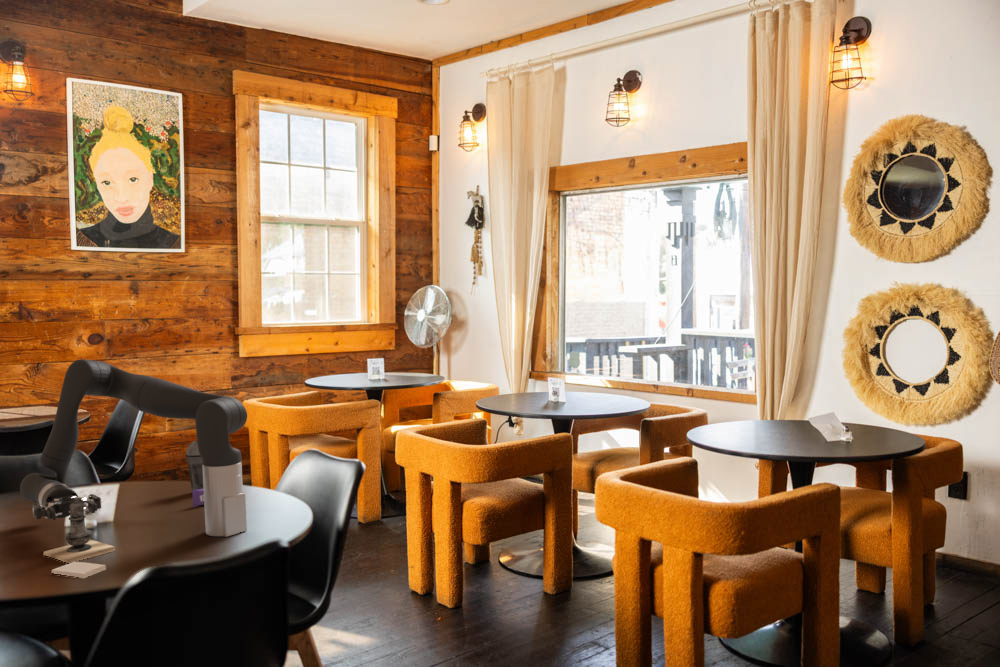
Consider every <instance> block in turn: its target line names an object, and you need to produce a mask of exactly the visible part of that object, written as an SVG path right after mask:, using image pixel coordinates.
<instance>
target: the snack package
mask: <svg viewBox="0 0 1000 667" xmlns="http://www.w3.org/2000/svg"><path fill="white" fill-rule="evenodd" d="M191 493H192V494H191V495H192V508H193V507H194V508H197V507H199V506H201V505H202V506H203V505H204V489H199V490H192V489H191ZM196 506H197V507H196Z"/></svg>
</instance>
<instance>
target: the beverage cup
mask: <svg viewBox="0 0 1000 667" xmlns="http://www.w3.org/2000/svg"><path fill="white" fill-rule="evenodd" d="M185 460H186V462H187V466H188V467H187V468H188V473H189V474H188V475H189V480H190V488H191V491H192V490H199V489H204V487H203V466H202V465H203V464H202V458H201V456H200V454H199V450H198V443H197V440H194V441H192V442H191V443H190V444H188V446H187V448H186V451H185Z"/></svg>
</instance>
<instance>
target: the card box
mask: <svg viewBox="0 0 1000 667" xmlns="http://www.w3.org/2000/svg"><path fill="white" fill-rule="evenodd" d="M106 566H107V565H106V564H100V563H93V562H83V561H82V562H81V561H77V562H75V561H74V562H72V563H69V564H67V563H65V565H61V566H58V567H56V568H54V569H51V574H52V573H54V574H61V575H67V576H66V577H68V576H74V577H73V578H76V577H79V578H78V579H86V578H88V576H89V577H90V576H93V575H96V574H98V573H100V572H103V571H106V570H107V567H106Z"/></svg>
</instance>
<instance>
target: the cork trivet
mask: <svg viewBox="0 0 1000 667" xmlns="http://www.w3.org/2000/svg"><path fill="white" fill-rule="evenodd" d="M86 544H89V545H91V546H92V548H91V549H89V550H86V551H82V552H73V553H72V552H67V551H66V550H67V549H68V548H69V547H71V546H72V545H70V544H67V545H63V546H60V547H55V548H52V549H47V550H44V551H43V556H44V555H46V556H49V557H52V558H55V559H58V560H61V561H63V562H62V563H64V562H66V563H65V564H67V563H71V562H74V561H77V562H80V561H83V559H84V560H88V559H90V558H95V557H98V556H102V555H105V554H108V553H113V552H115V551H116V549H115V546H114V545H110V544H107V543H104V542H101V541H97V540H93V539H90V540H89V541H88V542H87V543H86ZM49 557H48V558H49ZM52 558H51V559H52ZM87 558H88V559H87ZM55 559H54V560H55ZM58 560H57V561H58ZM79 560H80V561H79ZM61 561H60V562H61Z"/></svg>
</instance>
